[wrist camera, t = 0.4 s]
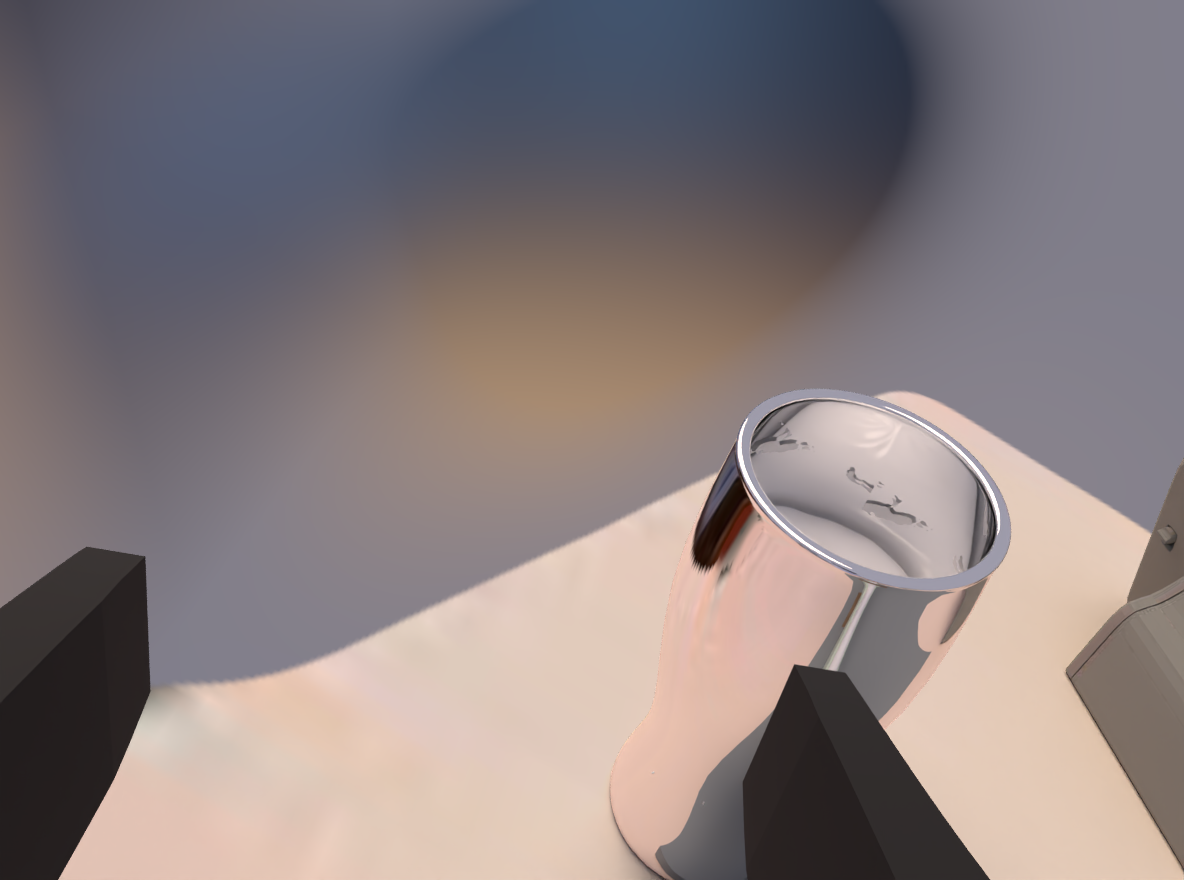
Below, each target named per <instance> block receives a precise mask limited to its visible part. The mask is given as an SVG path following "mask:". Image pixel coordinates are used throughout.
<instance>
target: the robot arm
mask: <svg viewBox="0 0 1184 880" xmlns="http://www.w3.org/2000/svg"><path fill="white" fill-rule="evenodd" d="M149 694H150V669H149V642H148V617H147V590H146V564H145V556H139V555H133V554H127V553H120V552H115V551H109V550H103V549H96V548H91V547H86V548H84V549H82V550H81V551H79V552H78V553H76V554H75V555H73V556H72V557H70V558H69V559H68V560H66V561H65V562H63V563H62V564H61V565H59V566H58V567H56V568H55V569H54V570H52V571H51V572H49V573H48V574H47V575H46V576H44V577H43V578H41V579H40V580H39V581H37V582H36V583H34V584H33V585H32V586H30V587H29V588H27V589H26V590H25V591H23V592H22V593H21V594H19V595H18V596H16V597H15V598H14V599H13V600H11V601H10V602H8V603H7V604H5V605H4V606H3V607H2V608H0V880H58V879H59V877H60V875H61V874H62V872H63V870H64V868H65V867H66V865H67V863H68V861H69V860H70V858H71V856H72V854H73V852H74V851H75V849H76V847H77V845H78V844H79V842H80V840H81V838H82V836H83V835H84V833H85V831H86V829H87V827H88V826H89V824H90V822H91V820H92V818H93V817H94V815H95V813H96V811H97V809H98V808H99V806H100V804H101V802H102V800H103V799H104V797H105V795H106V793H107V791H108V789H109V788H110V786H111V784H112V782H113V780H114V778H115V776H116V774H117V771H118V769H119V767H120V764H121V762H122V760H123V757H124V755H125V753H126V750H127V748H128V746H129V743H130V741H131V738H132V736H133V733H134V731H135V729H136V726H137V724H138V721H139V719H140V716H141V714H142V711H143V709H144V706H145V704H146V701H147V699H148V696H149ZM743 814H744V840H745V858H746V873H747V879H748V880H990V879H989V878H988V876H987V875H986V874H985V872H984V871H983V870H982V868H981V867H980V866H979V864H978V863H977V862H976V860H975V859H974V858H973V856H972V855H971V854H970V852H969V851H968V850H967V848H966V847H965V845H964V844H963V843H962V841H961V840H960V839H959V837H958V836H957V834H956V833H955V832H954V830H953V829H952V828H951V826H950V825H949V823H948V822H947V821H946V819H945V818H944V816H943V815H942V814H941V812H940V811H939V809H938V808H937V806H936V805H935V804H934V802H933V801H932V799H931V798H930V796H929V795H928V794H927V792H926V791H925V789H924V788H923V786H922V785H921V784H920V782H919V781H918V779H917V778H916V776H915V775H914V773H913V772H912V770H911V769H910V767H909V766H908V764H907V763H906V762H905V760H904V759H903V757H902V756H901V754H900V753H899V751H898V750H897V748H896V747H895V745H894V744H893V742H892V741H891V739H890V738H889V736H888V735H887V733H886V732H885V730H884V729H883V727H882V726H881V724H880V723H879V721H878V720H877V718H876V717H875V715H874V714H873V712H872V711H871V709H870V708H869V706H868V705H867V703H866V702H865V700H864V699H863V697H862V696H861V694H860V693H859V691H858V690H857V688H856V687H855V686H854V684H853V683H852V681H851V680H850V678H849V677H848V675H847V674H846V673H845V672H839V671H833V670H827V669H821V668H814V667H808V666H802V665H796V664H794V666H793V668H792V670H791V673H790V675H789V677H788V680H787V682H786V684H785V686H784V689H783V691H782V693H781V695H780V698H779V700H778V702H777V705H776V707H775V709H774V711H773V714H772V716H771V718H770V721H769V723H768V725H767V727H766V730H765V732H764V734H763V737H762V739H761V741H760V743H759V746H758V748H757V750H756V752H755V755H754V757H753V759H752V762H751V764H750V766H749V768H748V771H747V773H746V775H745V778H744V780H743Z"/></svg>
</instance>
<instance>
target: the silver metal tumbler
mask: <svg viewBox="0 0 1184 880" xmlns="http://www.w3.org/2000/svg"><path fill="white" fill-rule="evenodd" d="M1010 540H1011V523H1010V517H1009V513H1008V509H1007V506H1006V503H1005V501H1004V498H1003V496H1002V494H1001V492H1000V490H999V489H998V487H997V485H996V484H995V482H994V480H993V479H992V477H991V476H990V475H989V473H988V472H987V471H986V470H985V468H984V467H983V466H982V465H981V464H980V463H979V461H978V460H977V459H976V458H975V457H974V456H973V455H972V454H971V453H970V452H969V451H968V450H967V449H965V448H964V447H963V446H962V445H961V444H960V443H958V442H957V441H956V440H955V439H953V438H952V437H951V436H949V435H948V434H947V433H945V432H944V431H943V430H941V429H940V428H938V427H937V426H935V425H933V424H932V423H930V422H928V421H927V420H925V419H923V418H921V417H920V416H918V415H916V414H914V413H912V412H910V411H908V410H905V409H903V408H901V407H899V406H896V405H894V404H891V403H889V402H886V401H883V400H880V399H877V398H874V397H870V396H867V395H863V394H859V393H854V392H849V391H843V390H835V389H802V390H795V391H789V392H785V393H782V394H779V395H776V396H774V397H772V398H769V399H767V400H765V401H764V402H762V403H761V404H759V405H758V406H756V407H755V408H754V409H753V410H752V411H751V412H750V413H749V414H748V416H747V417H746V418H745V420H744V421H743V423H742V425H741V427H740V429H739V432H738V435H737V438H736V440H735V442H734V444H733V446H732V449H731V450H730V452H729V454H728V456H727V458H726V460H725V461H724V463H723V465H722V467H721V469H720V471H719V473H718V474H717V476H716V478H715V480H714V482H713V484H712V486H711V488H710V490H709V492H708V494H707V496H706V498H705V500H704V502H703V504H702V506H701V508H700V510H699V513H698V515H697V517H696V520H695V522H694V524H693V526H692V529H691V531H690V533H689V536H688V538H687V540H686V543H685V546H684V549H683V552H682V555H681V558H680V560H679V563H678V566H677V569H676V572H675V575H674V578H673V582H672V586H671V591H670V596H669V601H668V605H667V610H666V615H665V620H664V627H663V635H662V642H661V650H660V658H659V667H658V676H657V683H656V690H655V696H654V700H653V703H652V706H651V709H650V711H649V713H648V714H647V716H646V717H645V719H644V720H643V721H642V722H641V723H640V724H639V726H638V727H637V728H636V729H635V730H634V731H633V733H632V734H631V735H630V736H629V738H628V739H627V740H626V742H625V743H624V745H623V746H622V748H621V749H620V751H619V753H618V755H617V757H616V760H615V762H614V765H613V769H612V774H611V781H610V797H611V805H612V810H613V814H614V817H615V820H616V823H617V825H618V827H619V830H620V832H621V834H622V835H623V837H624V839H625V841H626V842H627V844H628V845H629V846H630V848H631V849H632V850H633V852H634V853H635V854H636V855H637V856H638V857H639V858H640V859H641V861H643V862H644V863H645V864H646V865H647V866H648V867H649V868H650V869H652V870H653V871H654V872H656V873H657V874H658V875H660V876H661V877H663V878H665V879H667V880H748V879H747V873H746V858H745V840H744V814H743V780H744V778H745V775H746V773H747V771H748V768H749V766H750V764H751V762H752V759H753V757H754V755H755V752H756V750H757V748H758V746H759V743H760V741H761V739H762V737H763V734H764V732H765V730H766V727H767V725H768V723H769V721H770V718H771V716H772V714H773V711H774V709H775V707H776V705H777V702H778V700H779V698H780V695H781V693H782V691H783V689H784V686H785V684H786V682H787V680H788V677H789V675H790V673H791V670H792V668H793V666H794V664H796V665H802V666H808V667H814V668H821V669H827V670H833V671H839V672H845V673H846V674H847V675H848V677H849V678H850V680H851V681H852V683H853V684H854V686H855V687H856V688H857V690H858V691H859V693H860V694H861V696H862V697H863V699H864V700H865V702H866V703H867V705H868V706H869V708H870V709H871V711H872V712H873V714H874V715H875V717H876V718H877V720H878V721H879V723H880V724H881V726H882V727H883V729H884V730H885V729H886V728H887V727H889V726H890V725H891V724H892V723H893V722H894V721H895V720H896V719H897V718H898V717H899V716H900V715H901V714H902V713H903V712H904V711H905V710H906V708H907V707H908V706H909V705H910V703H911V702H912V701H913V700H914V698H915V697H916V696H917V695H918V693H919V692H920V691H921V690H922V688H923V687H924V686H925V685H926V683H927V682H928V681H929V680H930V678H931V677H932V676H933V674H934V673H935V671H936V670H937V668H938V667H939V665H940V663H941V662H942V660H943V659H944V657H945V656H946V654H947V653H948V651H949V650H950V648H951V647H952V645H953V644H954V642H955V640H956V639H957V637H958V635H959V634H960V632H961V630H962V628H963V627H964V625H965V623H966V621H967V620H968V618H969V616H970V614H971V613H972V611H973V609H974V607H975V605H976V604H977V602H978V600H979V598H980V596H981V594H982V592H983V590H984V589H985V587H986V585H987V583H988V581H989V580H990V578H991V576H992V574H993V573H994V571H995V570H996V569H997V568H998V566H999V565H1000V564H1001V562H1002V561H1003V559H1004V558H1005V556H1006V554H1007V551H1008V548H1009V545H1010Z"/></svg>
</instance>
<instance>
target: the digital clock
mask: <svg viewBox="0 0 1184 880" xmlns="http://www.w3.org/2000/svg"><path fill="white" fill-rule="evenodd" d="M1066 673H1067V674H1068V676H1069V678H1070V679H1071V681H1072V683H1073V684H1074V686H1075V688H1076V689H1077V691H1078V693H1079V694H1080V696H1081V698H1082V699H1083V701H1084V703H1085V704H1086V706H1087V708H1088V709H1089V711H1090V713H1091V714H1092V716H1093V718H1094V719H1095V721H1096V723H1097V724H1098V726H1099V728H1100V729H1101V731H1102V733H1103V734H1104V736H1105V738H1106V739H1107V741H1108V743H1109V744H1110V746H1111V748H1112V749H1113V751H1114V753H1115V754H1116V756H1117V758H1118V759H1119V761H1120V763H1121V764H1122V766H1123V768H1124V769H1125V771H1126V773H1127V774H1128V776H1129V778H1130V780H1131V781H1132V783H1133V785H1134V786H1135V788H1136V790H1137V791H1138V793H1139V795H1140V796H1141V798H1142V800H1143V801H1144V803H1145V805H1146V806H1147V808H1148V810H1149V811H1150V813H1151V815H1152V816H1153V818H1154V820H1155V821H1156V823H1157V825H1158V826H1159V828H1160V830H1161V831H1162V833H1163V835H1164V836H1165V838H1166V840H1167V841H1168V843H1169V845H1170V846H1171V848H1172V850H1173V851H1174V853H1175V855H1176V856H1177V858H1178V860H1179V861H1180V863H1181V865H1182V866H1183V868H1184V458H1183V460H1182V462H1181V464H1180V466H1179V468H1178V469H1177V472H1176V474H1175V476H1174V479H1173V481H1172V484H1171V486H1170V488H1169V491H1168V494H1167V496H1166V499H1165V501H1164V504H1163V507H1162V509H1161V511H1160V514H1159V517H1158V519H1157V522H1156V525H1155V527H1154V530H1153V532H1152V535H1151V537H1150V540H1149V543H1148V545H1147V548H1146V550H1145V553H1144V555H1143V558H1142V561H1141V563H1140V566H1139V568H1138V571H1137V574H1136V576H1135V579H1134V581H1133V584H1132V587H1131V589H1130V592H1129V595H1128V599H1127V604H1126V605H1124V606H1123V607H1121V608H1120V609H1119V610H1118V611H1117V612H1116V613H1115V614H1114V615H1113V616H1112V617H1111V618H1110V619H1109V620H1108V621H1107V622H1106V623H1105V624H1104V625H1103V627H1102V628H1101V629H1100V630H1099V631H1098V632H1097V633H1096V635H1095V636H1094V637H1093V638H1092V639H1091V640H1090V641H1089V643H1088V644H1087V645H1086V646H1085V647H1084V648H1083V650H1082V651H1081V652H1080V653H1079V654H1078V655H1077V657H1076V658H1075V659H1074V660H1073V661H1072V662H1071V663H1070V665H1069V666H1068V667H1067V668H1066Z"/></svg>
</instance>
